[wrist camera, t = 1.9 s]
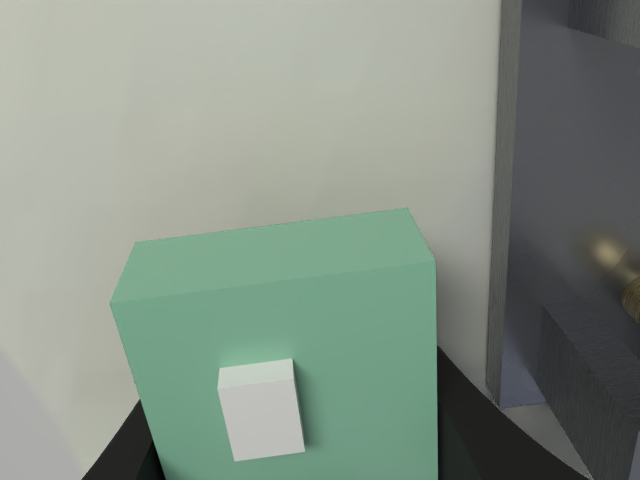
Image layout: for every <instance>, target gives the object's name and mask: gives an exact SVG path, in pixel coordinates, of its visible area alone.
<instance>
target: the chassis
mask: <svg viewBox="0 0 640 480" xmlns="http://www.w3.org/2000/svg"><path fill="white" fill-rule="evenodd" d="M487 384H488V386H489V388H490V390H491V392H492V394H493V396H494V398H495V400H496V402H497V404H498V406H499V409H500V408H508V407H515V406H522V405H530V404H537V403H544V402H547V403H548V404H549V406H550V408H551V409H552V411H553V413H554V414H555V416H556V418H557V419H558V421H559V422H560V424H561V426H562V427H563V429H564V431H565V432H566V434H567V436H568V437H569V439H570V441H571V442H572V444H573V445H574V447H575V449H576V450H577V452H578V454H579V455H580V457H581V459H582V460H583V462H584V464H585V465H586V467H587V469H588V470H589V472H590V473H591V475H592V477H593V478H594V480H640V0H502V14H501V38H500V63H499V88H498V113H497V138H496V162H495V187H494V212H493V237H492V262H491V287H490V311H489V336H488V361H487Z"/></svg>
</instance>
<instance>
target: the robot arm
mask: <svg viewBox="0 0 640 480" xmlns="http://www.w3.org/2000/svg"><path fill="white" fill-rule="evenodd" d="M437 431H438V480H589V479H588V478H586V477H584V476H583V475H581V474H580V473H578V472H577V471H575V470H574V469H572V468H571V467H569V466H568V465H567V464H565V463H564V462H562V461H561V460H560V459H558V458H557V457H556V456H554V455H553V454H551V453H550V452H549V451H547V450H546V449H545V448H543V447H542V446H541V445H540V444H538V443H537V442H536V441H535V440H533V439H532V438H531V437H530V436H528V435H527V434H526V433H525V432H524V431H522V430H521V429H520V428H519V427H518V426H517V425H516V424H514V423H513V422H512V421H511V420H510V419H509V418H507V417H506V416H505V415H504V414H503V413H502V412H501V411H500V410H499V409H498V408H497V407H496V406H494V405H493V404H492V403H491V402H490V401H489V400H488V399H487V398H486V397H485V396H484V395H483V394H482V393H481V392H480V391H479V390H478V389H477V388H476V387H475V386H474V385H473V384H472V383H471V382H470V381H469V380H468V379H467V378H466V377H465V375H464V374H463V373H462V372H461V371H460V370H459V369H458V368H457V367H456V366H455V365H454V364H453V362H452V361H451V360H450V359H449V358H448V357H447V356H446V354H445V353H444V352H443V351H442V350H441V348H440V347H438V346H437ZM82 480H166V478H165V475H164V472H163V469H162V466H161V463H160V460H159V456H158V453H157V450H156V447H155V444H154V441H153V438H152V435H151V431H150V428H149V425H148V422H147V419H146V416H145V413H144V409H143V406H142V403H141V400H140V399H139V401H138V402H137V404H136V405H135V407H134V408H133V410H132V411H131V413H130V414H129V416H128V417H127V419H126V420H125V422H124V423H123V425H122V426H121V428H120V429H119V430H118V432H117V433H116V435H115V436H114V437H113V439H112V440H111V442H110V443H109V444H108V446H107V447H106V448H105V450H104V451H103V453H102V454H101V455H100V457H99V458H98V459H97V461H96V462H95V463H94V465H93V466H92V467H91V468H90V470H89V471H88V472H87V473H86V475H85V476H84V477H83V478H82Z"/></svg>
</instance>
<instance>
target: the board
mask: <svg viewBox="0 0 640 480" xmlns="http://www.w3.org/2000/svg"><path fill="white" fill-rule="evenodd" d="M110 306H111V309H112V312H113V315H114V319H115V322H116V325H117V328H118V331H119V334H120V337H121V340H122V344H123V347H124V350H125V353H126V356H127V359H128V362H129V366H130V369H131V372H132V375H133V378H134V381H135V384H136V387H137V391H138V394H139V397H140V400H141V403H142V406H143V409H144V413H145V416H146V419H147V422H148V425H149V428H150V431H151V435H152V438H153V441H154V444H155V447H156V450H157V453H158V456H159V460H160V463H161V466H162V469H163V472H164V475H165V478H166V480H438V431H437V335H436V260H435V258H434V257H433V255H432V253H431V251H430V249H429V247H428V245H427V243H426V241H425V240H424V238H423V236H422V234H421V232H420V230H419V228H418V226H417V224H416V223H415V221H414V219H413V217H412V215H411V213H410V211H409V209H408V208H403V209H395V210H387V211H379V212H371V213H363V214H355V215H347V216H339V217H332V218H324V219H316V220H308V221H300V222H292V223H284V224H276V225H269V226H261V227H253V228H245V229H237V230H229V231H221V232H213V233H205V234H198V235H190V236H182V237H174V238H166V239H158V240H150V241H142V242H135V245H134V247H133V249H132V252H131V254H130V256H129V259H128V261H127V263H126V266H125V268H124V270H123V273H122V275H121V277H120V280H119V282H118V284H117V287H116V289H115V291H114V294H113V296H112V299H111V301H110Z"/></svg>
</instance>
